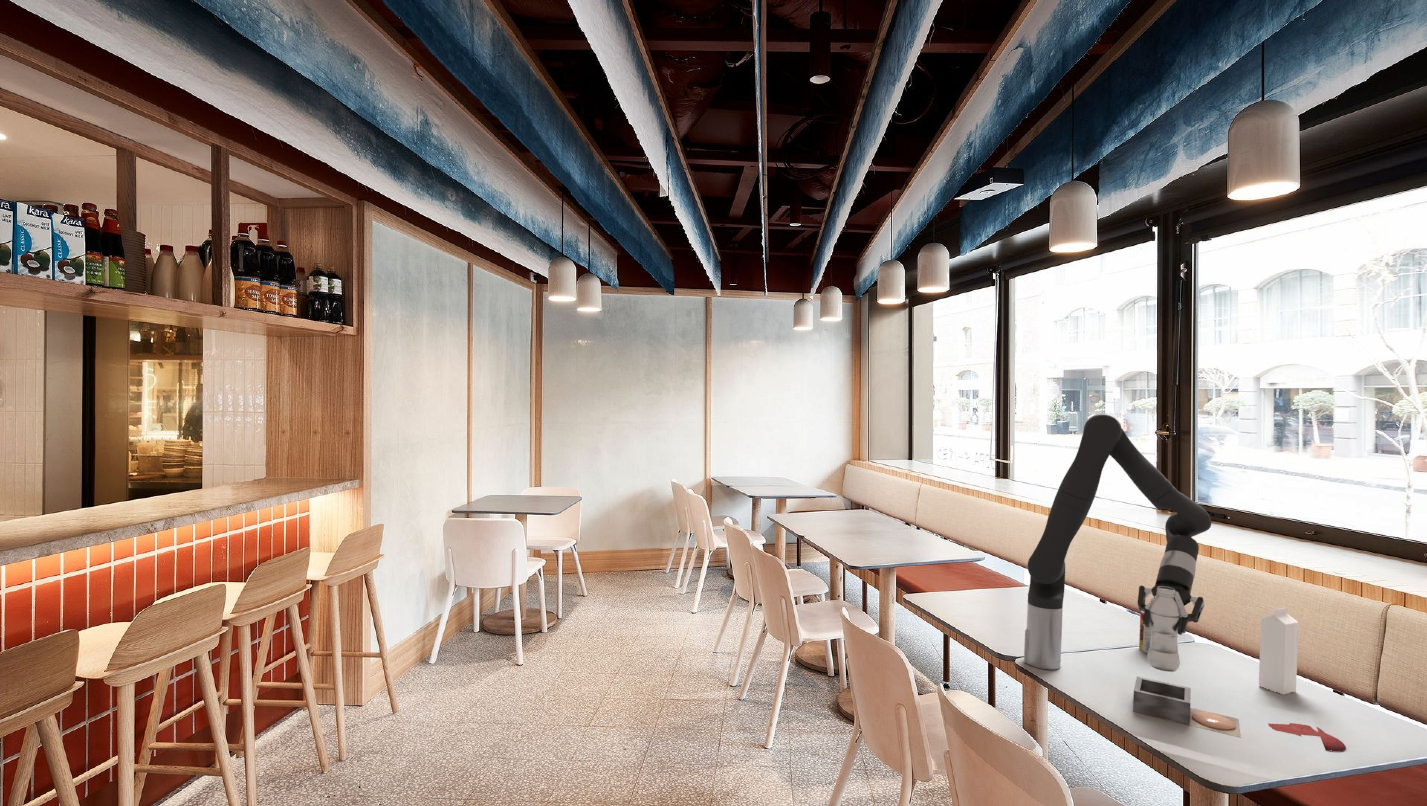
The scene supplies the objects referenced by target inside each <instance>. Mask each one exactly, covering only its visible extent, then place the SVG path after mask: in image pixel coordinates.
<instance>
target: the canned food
mask: <svg viewBox="0 0 1427 806" xmlns="http://www.w3.org/2000/svg"><path fill="white" fill-rule="evenodd" d="M1139 615H1140V617H1139V642H1138V643H1139V644H1138V649H1139V651H1140V652H1142V653H1145V654H1147V655H1148V651H1149V648H1150V642H1151V630H1152V629H1151V623H1150V627H1146V626H1145V624H1144V623H1143V615H1144V611H1140V613H1139Z"/></svg>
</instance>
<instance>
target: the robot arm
mask: <svg viewBox="0 0 1427 806" xmlns="http://www.w3.org/2000/svg"><path fill="white" fill-rule="evenodd" d="M1082 432H1083V433H1082V435H1081V440H1080V444H1079V447H1078V450H1077V451H1076V452H1077V453H1076V455H1075V457H1074V460H1073V462H1072V463H1071V465H1070V466H1069V468H1068V470H1066V473H1065V475H1064V477H1063V479H1062V481H1061V483H1060V485H1059V487H1058V489H1057V492H1056V494H1055V496H1054V499H1053V502H1052V505H1051V507H1050V511H1049V514H1048V517H1047V520H1046V525H1045V528H1044V530H1043V533H1042V535H1041V538H1040V539H1039V541H1038V544H1037V545H1036V547H1035V548H1034V550H1033V552H1032V554H1031V556H1030V557H1029V559H1028V560H1027V570H1028V574H1029V575H1030V577H1029V578H1030V579H1029V587H1028V593H1027V610H1026V612H1027V613H1026V614H1027V615H1026V628H1025V630H1024V650H1023V653H1024V654H1023V663H1024V664H1028V665H1030V666H1032V667H1035V668H1038V669H1042V670H1043V669H1044V670H1058V669H1060V668H1061V662H1062V658H1061V657H1062V639H1063V638H1062V635H1063V634H1062V633H1063V632H1062V631H1063V612H1064V609H1063V608H1064V607H1063V606H1064V605H1063V604H1064V597H1065V586H1066V585H1065V583H1066V562H1065V560H1066V556H1067V554H1068V551H1069V548H1070V545H1071V543H1072V542H1073V539H1074V538H1075V536H1076V535H1077V533H1078V532H1079V530H1080V529H1081V527H1082V525H1083V523H1084V522H1085V520H1086V518H1087V516H1088V514H1089V511H1090V510H1091V507H1092V505H1093V503H1094V500H1095V498H1096V494H1097V491H1098V488H1099V486H1100V485H1099V484H1100V480H1101V477H1102V473H1103V469H1104V468H1105V467H1104V466H1105V464H1106V462H1107V460H1108V459H1109V457H1111V458H1112V459H1114V461H1115V462H1116V463H1117V464H1118V465H1119V466H1120V468H1121V469H1122V470H1123V471H1124V472H1125V474H1127V476H1128V478H1129V479H1130V480H1131V481H1132V482H1133V484H1134V485H1135V486H1136V487H1137V489H1138V490H1139V491H1140V492H1141V493H1142V494H1143V495H1144V497H1146V499H1147V500H1148V501H1149V502H1150V503H1151V504H1152V506H1154V507H1155V508H1156V509H1157V510H1167V509H1168V510H1172V511H1173V512H1175V513H1173V514H1171V515H1170V516H1169V517H1168V518H1167V520H1166V522H1165V527H1164V529H1165V539H1166V546H1165V550H1164V552H1163V553H1164V554H1163V557H1162V559H1161V561H1160V564H1159V568H1158V572H1157V575H1156V576H1157V577H1156V579H1155V583H1154V586H1153V587H1152V588H1149V587H1145V586H1144V585H1139V586H1138V596H1137V607H1138V610H1139V611H1140V612H1141V611H1144V615H1143V623H1144V624H1145V626H1146V627H1150V623H1151V618H1150V609H1149V607H1150V604H1151V603H1152V602H1153V601H1154V600H1155V599H1156V598H1157V597H1158V595H1157V594H1156V593H1157V588H1158V587H1159V586H1163V587H1170V588H1174V589H1175V595H1176V596H1175V598H1174V600H1175V601H1176V603H1177V604H1178V606H1179V608H1180V610H1181V616H1180V620H1179V624H1178V629H1177V631H1178V634H1177V635H1180V636H1182V635H1183V634H1185V633H1186V632H1187V629H1188V624H1189V623H1190V622H1193V623H1198V622H1199V620H1200V617H1201V615H1202V612H1203V610H1204V607H1205V601H1204V598H1203V596H1198V597H1195V596H1192V595H1191V593H1192V588H1193V584H1194V579H1195V578H1196V570H1197V569H1196V566H1197V559H1198V555H1199V551H1200V550H1199V549H1200V545H1199V543H1198V542H1197V540H1195V539H1194V538H1193V537H1195V536H1198V535H1200V534H1202V533H1205V532H1207V531H1208V530H1209V529H1210V528H1211V527H1212V518H1211V516H1210V514H1209V513H1208V512H1207V510H1206V509H1205V508H1204V507H1203V506H1201V505H1200V504H1199V503H1198V502H1195V501H1194V500H1192V499H1191V498H1190V497H1188V496H1187V495H1185V494H1183V492H1180V491H1179V490H1177V488H1176V487H1175V486H1174V485H1173V484H1172V483H1171V481H1170V480H1168V479H1167V477H1166V476H1165V475H1164V474H1163V473H1162V472H1161V471H1160V470H1159V469H1158V468H1157V467H1156V466H1154V465H1153V464H1152V463H1151V462H1150V461H1149V459H1147V458H1146V457H1145V456H1144V455H1143V454H1142V453H1141V451H1139V449H1138V448H1137V447H1136V446H1135V445H1134V443H1133V442H1132V441H1131V440H1130V439H1129V436H1128V435H1127V434H1126V432H1125V430H1124V429H1123V428H1122V424H1121V423H1120V421H1119V420H1118V418H1116V417H1115V416H1113V415H1111V414H1109V413H1097V414H1094V415H1092V416H1090V418H1088V419H1087V420H1086V422H1085V424H1084V427H1083V431H1082ZM1150 595H1152V596H1153V597H1152V598H1151V599H1150V601H1149V603H1147V604H1146V599H1147V598H1148V597H1149V596H1150ZM1190 603H1192V606H1193V608H1192V611H1191V613H1188V612H1187V611H1186V607H1185V606H1186V605H1188V604H1190Z"/></svg>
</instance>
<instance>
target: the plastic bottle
mask: <svg viewBox="0 0 1427 806" xmlns="http://www.w3.org/2000/svg"><path fill="white" fill-rule="evenodd" d="M1156 594H1157V595H1158V597H1157V598H1156V599H1155V600H1154V601H1153V602H1152V603H1151V604H1150V607H1149V609H1150V618H1151V629H1152V630H1151V642H1150V648H1149V651H1148V654H1147V661H1148V664H1149V666H1150V667H1151V668H1153V669H1155V670H1158V671H1163V672H1170V673H1172V672H1176V671H1177V670H1179V668H1180V665H1181V660H1180V654H1179V646H1178V644H1179V642H1178V635H1179V634H1178V631H1177V629H1178V624H1179V620H1180V617H1181V610H1180V608H1179V606H1178V604H1177V603H1176V601H1175V600H1174V598H1175V596H1176V595H1175V589H1174V588H1170V587H1163V586H1159V587H1158V588H1157V593H1156Z"/></svg>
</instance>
